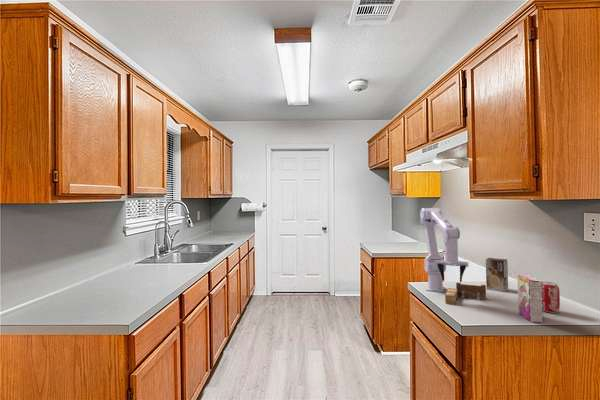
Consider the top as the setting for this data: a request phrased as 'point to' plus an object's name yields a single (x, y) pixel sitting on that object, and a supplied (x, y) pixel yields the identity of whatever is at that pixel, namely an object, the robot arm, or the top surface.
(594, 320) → the top surface
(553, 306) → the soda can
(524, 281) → the candy bar box
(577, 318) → the top surface
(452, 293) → the tan wooden bar
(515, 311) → the top surface
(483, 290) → the wooden base
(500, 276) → the coffee box
